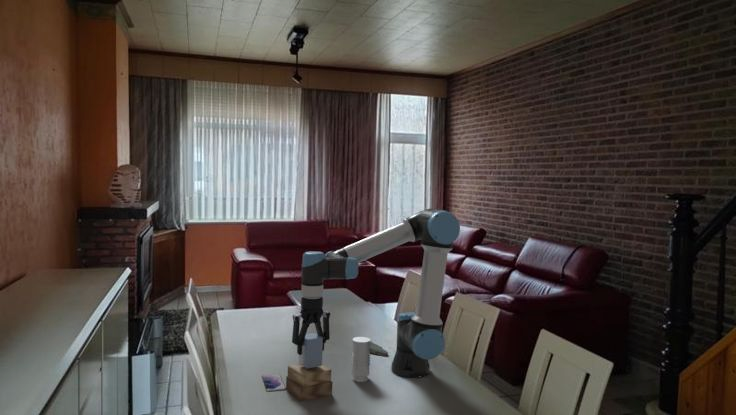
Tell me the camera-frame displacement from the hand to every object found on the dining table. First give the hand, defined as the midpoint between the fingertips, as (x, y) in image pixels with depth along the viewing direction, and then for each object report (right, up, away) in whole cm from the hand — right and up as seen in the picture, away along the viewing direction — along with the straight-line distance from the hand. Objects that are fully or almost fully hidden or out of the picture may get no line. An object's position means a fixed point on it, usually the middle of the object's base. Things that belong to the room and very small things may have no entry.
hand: (310, 361), depth 185 cm
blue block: (0, -1, 0) cm, 1 cm away
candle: (+17, -11, +14) cm, 25 cm away
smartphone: (-14, -10, +7) cm, 19 cm away
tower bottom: (-1, -11, 0) cm, 11 cm away
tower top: (-1, -6, 0) cm, 6 cm away
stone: (+22, -10, +47) cm, 52 cm away
